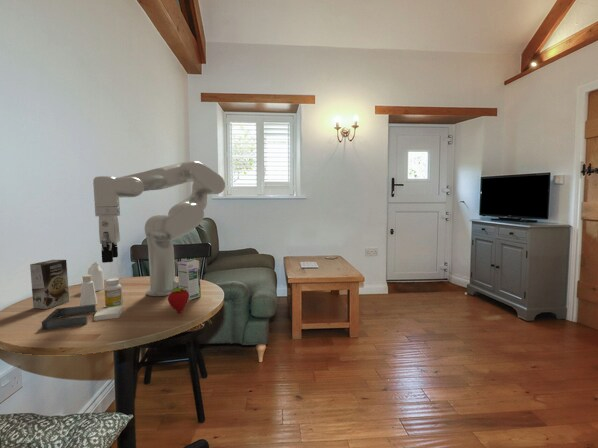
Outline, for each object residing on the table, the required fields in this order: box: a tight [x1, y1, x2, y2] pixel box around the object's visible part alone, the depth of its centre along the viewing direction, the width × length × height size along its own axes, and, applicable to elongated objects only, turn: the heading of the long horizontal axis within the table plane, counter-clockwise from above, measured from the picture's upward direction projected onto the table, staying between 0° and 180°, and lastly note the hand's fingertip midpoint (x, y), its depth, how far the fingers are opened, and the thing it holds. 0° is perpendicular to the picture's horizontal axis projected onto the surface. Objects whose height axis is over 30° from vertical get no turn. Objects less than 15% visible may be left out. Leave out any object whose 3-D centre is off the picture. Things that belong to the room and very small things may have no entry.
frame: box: [41, 304, 97, 331], centre depth 103 cm, size 11×12×2 cm
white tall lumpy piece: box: [87, 261, 105, 292], centre depth 137 cm, size 6×12×6 cm
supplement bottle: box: [104, 277, 124, 308], centre depth 116 cm, size 5×5×10 cm
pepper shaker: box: [79, 274, 98, 306], centre depth 117 cm, size 5×5×11 cm
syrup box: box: [177, 258, 202, 301], centre depth 124 cm, size 6×6×14 cm
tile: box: [93, 305, 123, 321], centre depth 107 cm, size 7×7×2 cm
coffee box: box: [29, 259, 70, 310], centre depth 118 cm, size 9×6×16 cm
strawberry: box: [167, 288, 189, 314], centre depth 108 cm, size 6×8×10 cm
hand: (110, 259), depth 114 cm, fingers open, 9 cm apart
